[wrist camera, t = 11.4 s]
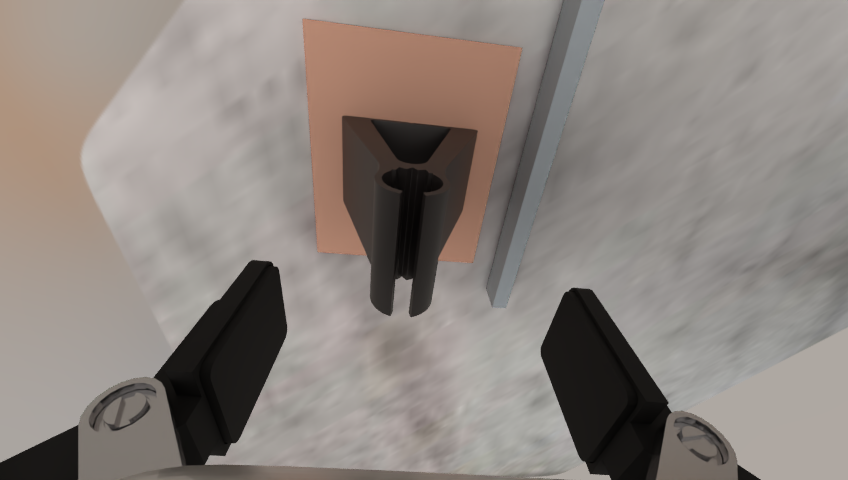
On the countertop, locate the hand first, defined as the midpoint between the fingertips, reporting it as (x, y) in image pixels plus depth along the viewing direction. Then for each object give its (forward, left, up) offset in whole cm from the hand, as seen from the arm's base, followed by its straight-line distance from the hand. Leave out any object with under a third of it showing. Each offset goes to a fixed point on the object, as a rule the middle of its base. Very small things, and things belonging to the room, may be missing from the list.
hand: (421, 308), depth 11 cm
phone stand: (+1, 0, -15) cm, 15 cm away
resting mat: (+1, 0, -15) cm, 15 cm away
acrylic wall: (-8, 0, -15) cm, 17 cm away
